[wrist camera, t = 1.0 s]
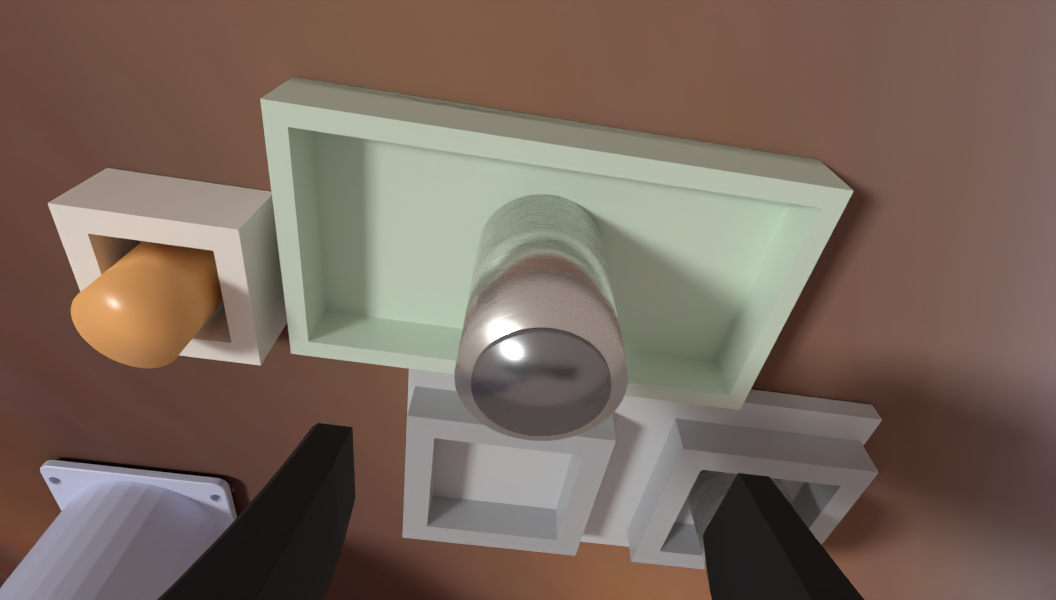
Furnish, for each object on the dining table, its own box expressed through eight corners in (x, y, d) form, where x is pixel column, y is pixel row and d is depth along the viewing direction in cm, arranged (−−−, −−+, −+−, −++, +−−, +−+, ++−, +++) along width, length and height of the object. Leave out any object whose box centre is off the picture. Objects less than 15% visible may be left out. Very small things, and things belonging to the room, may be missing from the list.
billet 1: (589, 310, 19) (606, 456, 14) (473, 294, 19) (447, 437, 14) (618, 204, 17) (650, 331, 12) (485, 184, 17) (460, 306, 12)
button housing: (289, 319, 20) (260, 365, 18) (146, 300, 20) (100, 345, 18) (274, 192, 17) (238, 229, 15) (107, 167, 17) (48, 203, 15)
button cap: (237, 312, 18) (190, 374, 16) (150, 300, 18) (88, 361, 16) (223, 237, 17) (169, 293, 14) (128, 224, 17) (56, 279, 14)
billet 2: (761, 521, 25) (816, 676, 20) (675, 511, 25) (708, 666, 20) (798, 464, 23) (872, 622, 18) (704, 453, 23) (751, 609, 18)
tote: (723, 367, 21) (739, 409, 19) (313, 313, 20) (291, 353, 18) (819, 160, 16) (853, 190, 15) (293, 76, 15) (260, 98, 14)
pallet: (771, 547, 28) (788, 593, 26) (406, 507, 26) (396, 552, 25) (872, 404, 22) (902, 451, 20) (413, 345, 21) (400, 389, 19)
